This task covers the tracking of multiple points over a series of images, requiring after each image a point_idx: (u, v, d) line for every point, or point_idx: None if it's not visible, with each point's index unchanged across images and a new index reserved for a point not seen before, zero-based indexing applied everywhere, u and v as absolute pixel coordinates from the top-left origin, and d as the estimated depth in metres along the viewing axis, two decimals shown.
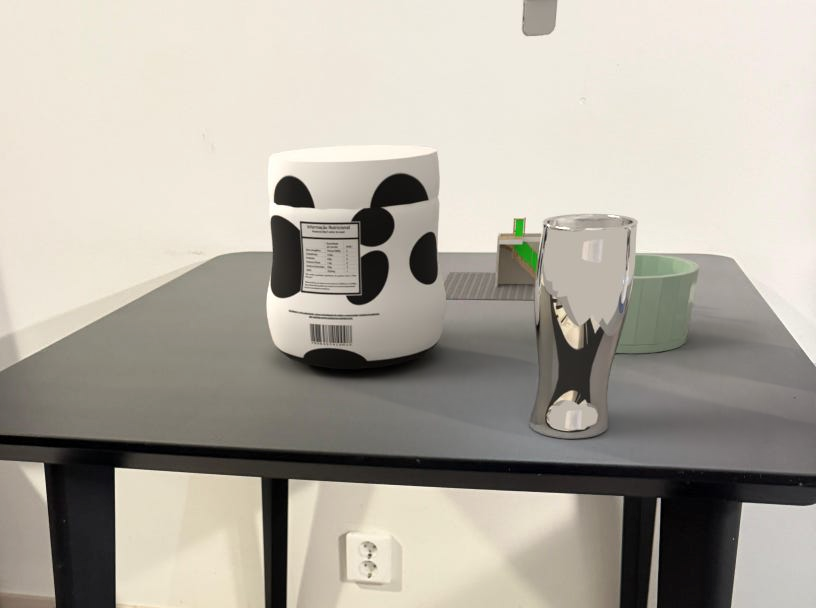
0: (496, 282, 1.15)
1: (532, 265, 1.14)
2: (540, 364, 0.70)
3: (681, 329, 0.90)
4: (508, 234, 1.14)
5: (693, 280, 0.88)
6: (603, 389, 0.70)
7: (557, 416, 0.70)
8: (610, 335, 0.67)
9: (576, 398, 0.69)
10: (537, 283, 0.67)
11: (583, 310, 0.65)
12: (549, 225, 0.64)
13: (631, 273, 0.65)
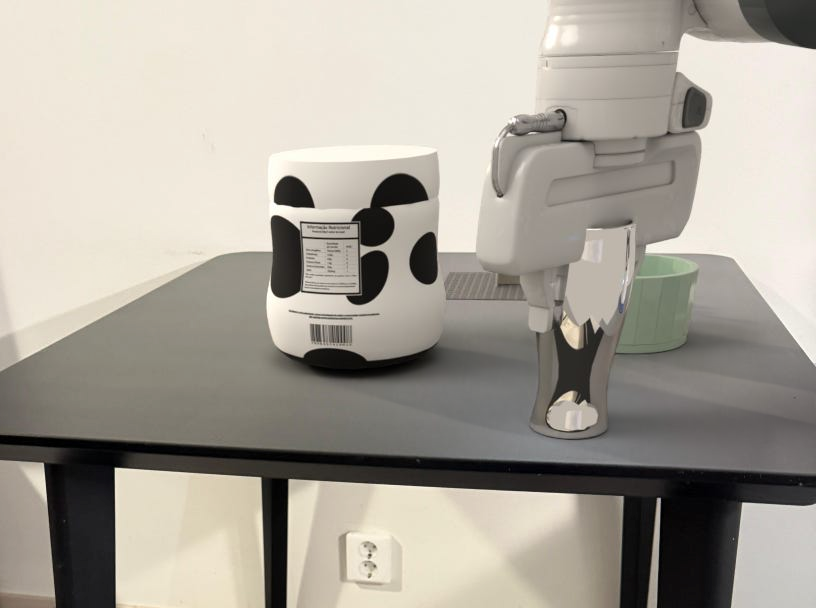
0: (496, 282, 1.15)
1: None
2: (540, 364, 0.70)
3: (681, 329, 0.90)
4: None
5: (693, 280, 0.88)
6: (603, 389, 0.70)
7: (557, 416, 0.70)
8: (610, 335, 0.67)
9: (576, 398, 0.69)
10: None
11: (583, 310, 0.65)
12: None
13: (631, 273, 0.65)
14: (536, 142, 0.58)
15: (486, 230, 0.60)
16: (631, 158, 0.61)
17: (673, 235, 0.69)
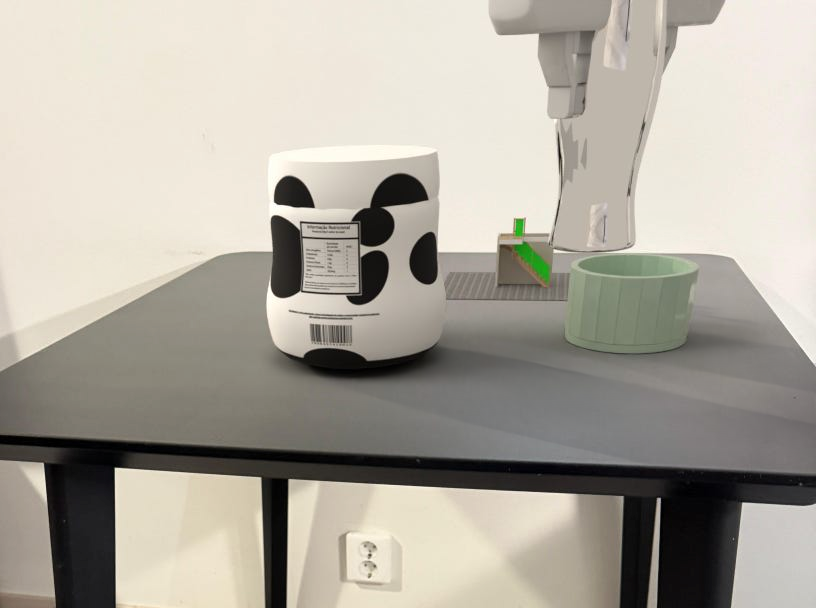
0: (496, 282, 1.15)
1: (532, 265, 1.14)
2: (559, 168, 0.63)
3: (681, 329, 0.90)
4: (508, 234, 1.14)
5: (693, 280, 0.88)
6: (630, 194, 0.63)
7: (579, 226, 0.63)
8: (639, 123, 0.59)
9: (600, 203, 0.62)
10: None
11: (609, 90, 0.58)
12: None
13: (662, 48, 0.58)
14: None
15: None
16: None
17: (708, 19, 0.62)
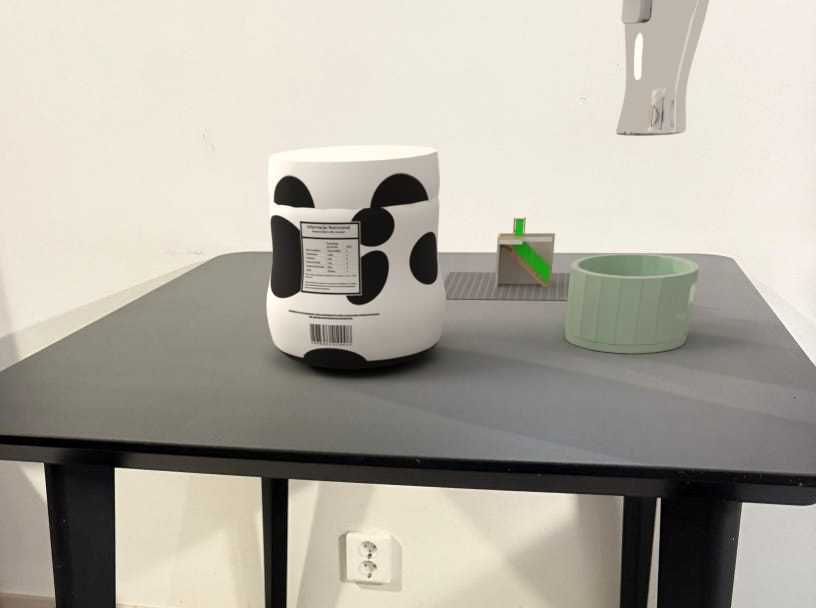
0: (496, 282, 1.15)
1: (532, 265, 1.14)
2: (627, 67, 0.79)
3: (681, 329, 0.90)
4: (508, 234, 1.14)
5: (693, 280, 0.88)
6: (683, 88, 0.79)
7: (642, 114, 0.79)
8: (692, 28, 0.76)
9: (660, 94, 0.78)
10: None
11: (670, 0, 0.74)
12: None
13: None
14: None
15: None
16: None
17: None
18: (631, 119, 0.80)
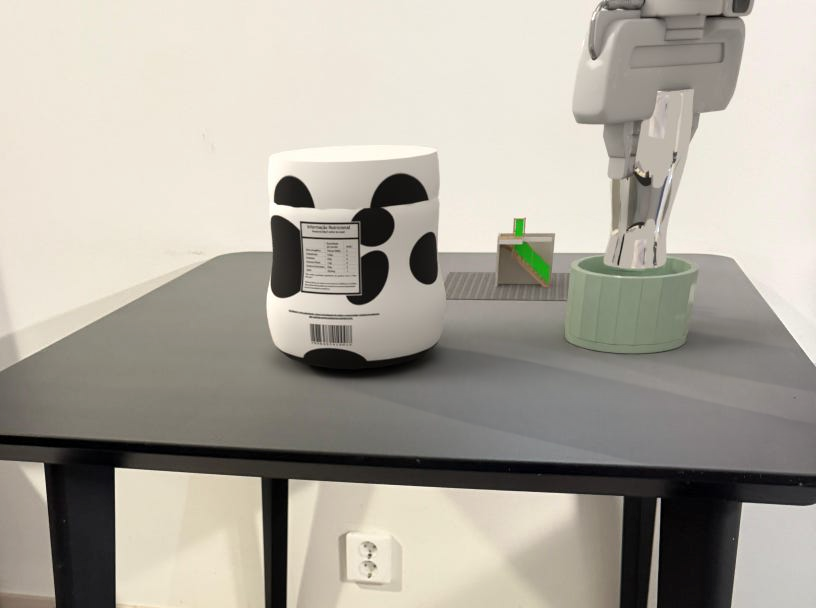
0: (496, 282, 1.15)
1: (532, 265, 1.14)
2: (613, 211, 0.87)
3: (681, 329, 0.90)
4: (508, 234, 1.14)
5: (693, 280, 0.88)
6: (664, 231, 0.87)
7: (626, 253, 0.88)
8: (671, 182, 0.84)
9: (642, 237, 0.87)
10: None
11: (651, 160, 0.83)
12: None
13: (689, 130, 0.83)
14: (622, 16, 0.76)
15: (581, 88, 0.77)
16: (694, 33, 0.78)
17: (721, 107, 0.87)
18: (616, 257, 0.88)
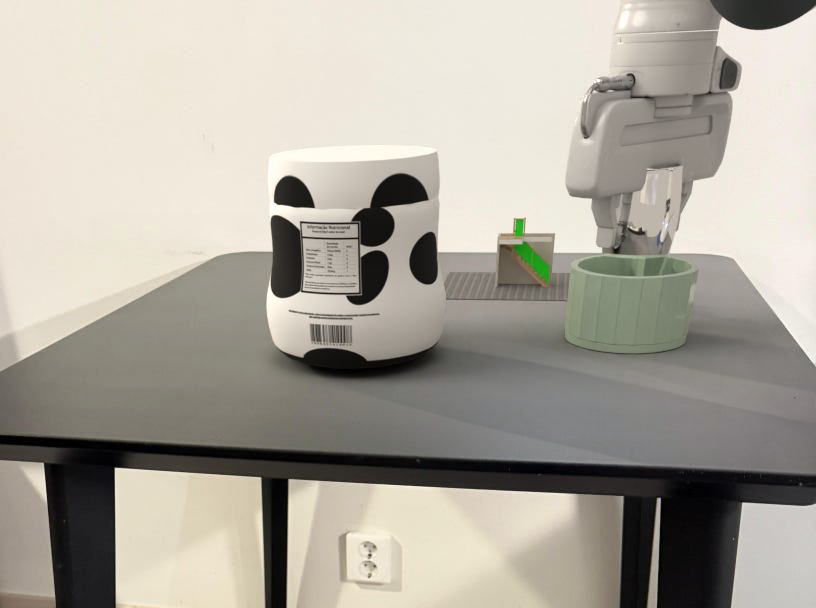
0: (496, 282, 1.15)
1: (532, 265, 1.14)
2: None
3: (681, 329, 0.90)
4: (508, 234, 1.14)
5: (693, 280, 0.88)
6: None
7: None
8: (661, 253, 0.87)
9: None
10: None
11: (642, 232, 0.86)
12: None
13: (678, 204, 0.86)
14: (613, 97, 0.79)
15: (574, 164, 0.81)
16: (682, 110, 0.81)
17: (709, 174, 0.90)
18: None
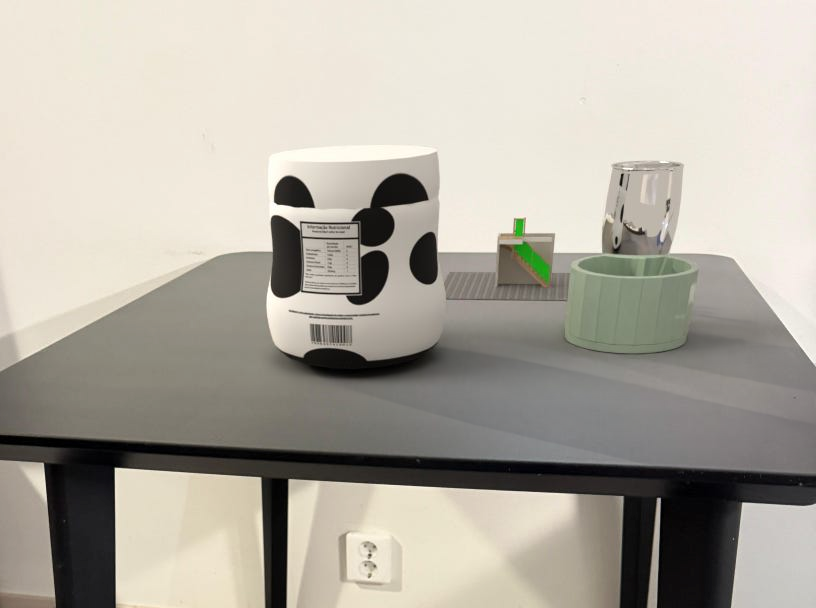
0: (496, 282, 1.15)
1: (532, 265, 1.14)
2: None
3: (681, 329, 0.90)
4: (508, 234, 1.14)
5: (693, 280, 0.88)
6: None
7: None
8: (661, 253, 0.87)
9: None
10: (606, 213, 0.87)
11: (642, 232, 0.86)
12: (617, 167, 0.85)
13: (678, 204, 0.86)
14: None
15: None
16: None
17: None
18: None
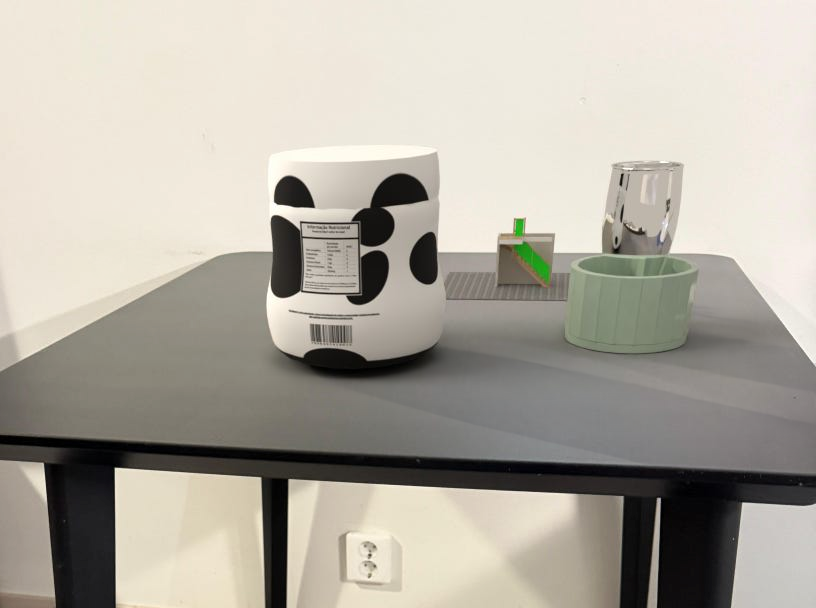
0: (496, 282, 1.15)
1: (532, 265, 1.14)
2: None
3: (681, 329, 0.90)
4: (508, 234, 1.14)
5: (693, 280, 0.88)
6: None
7: None
8: (661, 253, 0.87)
9: None
10: (606, 213, 0.87)
11: (642, 232, 0.86)
12: (617, 167, 0.85)
13: (678, 204, 0.86)
14: None
15: None
16: None
17: None
18: None
